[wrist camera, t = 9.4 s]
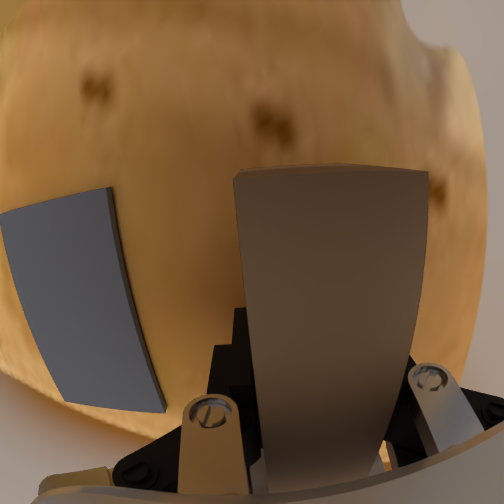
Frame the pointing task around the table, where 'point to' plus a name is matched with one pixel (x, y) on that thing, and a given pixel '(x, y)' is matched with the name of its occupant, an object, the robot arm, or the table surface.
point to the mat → (81, 301)
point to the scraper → (328, 312)
